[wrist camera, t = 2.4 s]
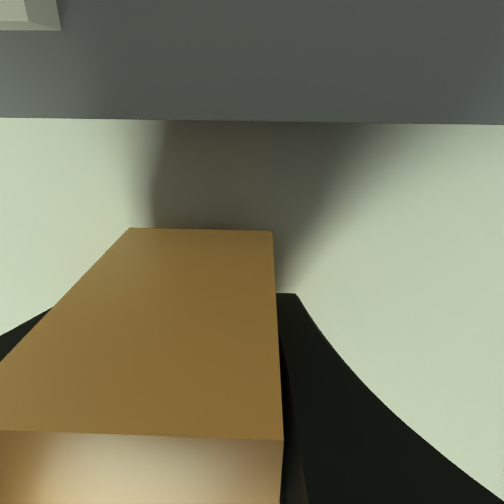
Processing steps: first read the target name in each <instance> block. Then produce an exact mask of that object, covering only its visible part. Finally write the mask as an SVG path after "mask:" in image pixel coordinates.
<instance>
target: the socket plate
mask: <svg viewBox="0 0 504 504" xmlns="http://www.w3.org/2000/svg"><path fill="white" fill-rule="evenodd" d="M0 117H5V118H72V119H140V120H208V121H276V122H344V123H412V124H479V125H504V0H0Z"/></svg>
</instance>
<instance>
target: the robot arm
mask: <svg viewBox="0 0 504 504" xmlns="http://www.w3.org/2000/svg"><path fill="white" fill-rule="evenodd" d="M276 307H277V325H278V343H279V362H280V380H281V398H282V417H283V435H284V445H283V458H282V472H281V486H280V500H279V503H280V504H504V501H502V500H501V499H500V498H498V497H497V496H496V495H494V494H493V493H492V492H490V491H489V490H488V489H486V488H485V487H484V486H482V485H481V484H479V483H478V482H477V481H475V480H474V479H473V478H471V477H470V476H469V475H467V474H466V473H465V472H464V471H462V470H461V469H460V468H458V467H457V466H456V465H455V464H453V463H452V462H451V461H450V460H448V459H447V458H446V457H445V456H443V455H442V454H441V453H440V452H439V451H437V450H436V449H435V448H434V447H433V446H431V445H430V444H429V443H428V442H427V441H425V440H424V439H423V438H422V437H421V436H419V435H418V434H417V433H416V432H415V431H413V430H412V429H411V428H410V427H409V426H407V425H406V424H405V423H404V422H403V421H402V420H401V419H400V418H399V417H397V416H396V415H395V414H394V413H393V412H392V411H391V410H390V409H389V408H388V407H387V406H386V405H385V404H384V403H383V402H382V401H381V400H380V399H379V398H378V397H377V396H376V395H375V394H374V393H373V392H372V391H371V390H370V389H369V388H368V387H367V386H366V385H365V384H364V383H363V382H362V381H361V380H360V379H359V377H358V376H357V375H356V374H355V373H354V372H353V371H352V370H351V368H350V367H349V366H348V365H347V364H346V363H345V362H344V360H343V359H342V358H341V357H340V356H339V354H338V353H337V352H336V351H335V349H334V348H333V347H332V345H331V344H330V343H329V342H328V340H327V339H326V338H325V336H324V335H323V334H322V332H321V331H320V330H319V328H318V327H317V325H316V324H315V322H314V321H313V320H312V318H311V317H310V315H309V314H308V312H307V310H306V309H305V307H304V306H303V304H302V302H301V300H300V299H299V297H298V296H297V295H296V294H293V293H276ZM52 308H53V307H52ZM52 308H50V309H48V310H47V311H45V312H43V313H41V314H39V315H38V316H36V317H34V318H32V319H30V320H29V321H27V322H25V323H23V324H21V325H19V326H18V327H16V328H14V329H12V330H10V331H9V332H7V333H5V334H3V335H1V336H0V362H1V361H2V360H3V359H4V358H5V357H6V356H7V355H8V353H9V352H10V351H11V350H12V349H13V348H14V347H15V346H16V345H17V344H18V343H19V342H20V341H21V340H22V339H23V338H24V337H25V336H26V335H27V334H28V333H29V332H30V331H31V330H32V328H33V327H34V326H35V325H36V324H37V323H38V322H39V321H40V320H41V319H42V318H43V317H44V316H45V315H46V314H47V313H48V312H49V311H50V310H51V309H52Z"/></svg>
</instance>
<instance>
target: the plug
mask: <svg viewBox="0 0 504 504" xmlns="http://www.w3.org/2000/svg"><path fill="white" fill-rule="evenodd" d="M283 445H284V435H283V417H282V398H281V380H280V362H279V343H278V325H277V307H276V288H275V270H274V252H273V233H272V231H256V230H211V229H166V228H129V229H128V230H127V231H126V232H125V233H124V234H123V235H122V236H121V237H120V238H119V239H118V240H117V241H116V242H115V243H114V244H113V245H112V246H111V247H110V248H109V249H108V250H107V251H106V252H105V254H104V255H103V256H102V257H101V258H100V259H99V260H98V261H97V262H96V263H95V264H94V265H93V266H92V267H91V268H90V269H89V270H88V271H87V272H86V273H85V274H84V275H83V276H82V277H81V279H80V280H79V281H78V282H77V283H76V284H75V285H74V286H73V287H72V288H71V289H70V290H69V291H68V292H67V293H66V294H65V295H64V296H63V297H62V298H61V299H60V300H59V301H58V302H57V303H56V305H55V306H54V307H53V308H52V309H51V310H50V311H49V312H48V313H47V314H46V315H45V316H44V317H43V318H42V319H41V320H40V321H39V322H38V323H37V324H36V325H35V326H34V327H33V328H32V330H31V331H30V332H29V333H28V334H27V335H26V336H25V337H24V338H23V339H22V340H21V341H20V342H19V343H18V344H17V345H16V346H15V347H14V348H13V349H12V350H11V351H10V352H9V353H8V355H7V356H6V357H5V358H4V359H3V360H2V361H1V362H0V504H279V500H280V486H281V472H282V458H283Z"/></svg>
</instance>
